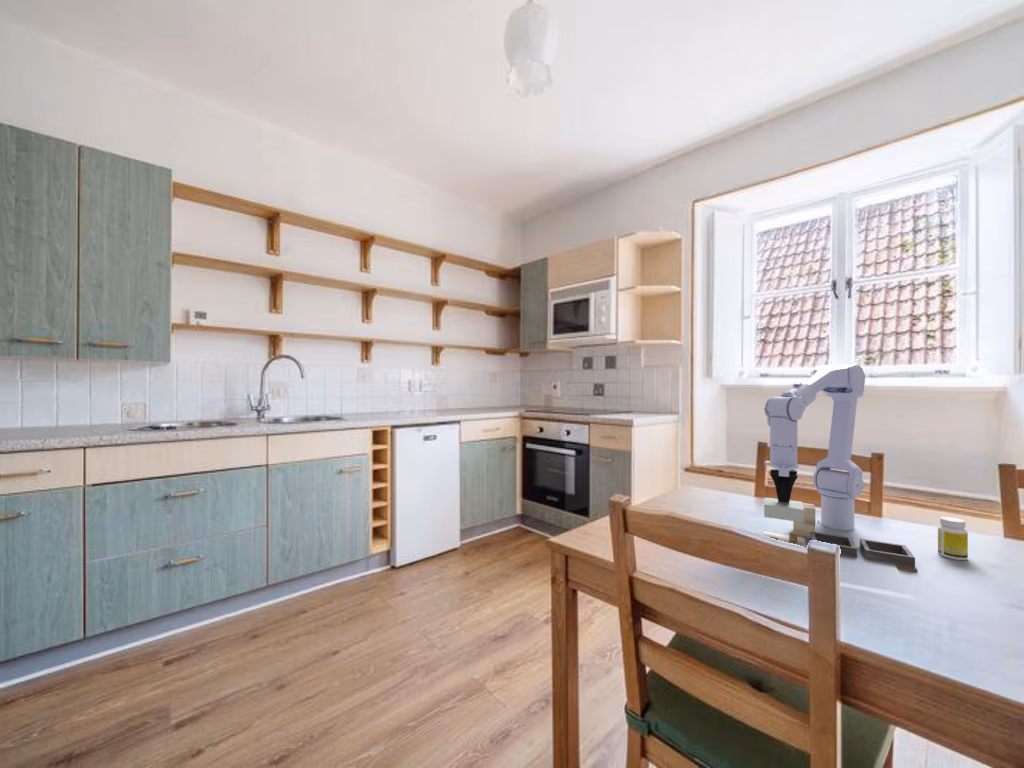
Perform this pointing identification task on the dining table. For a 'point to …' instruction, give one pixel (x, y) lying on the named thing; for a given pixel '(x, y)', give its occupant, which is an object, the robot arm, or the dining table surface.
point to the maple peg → (806, 521)
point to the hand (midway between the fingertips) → (783, 500)
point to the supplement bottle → (952, 538)
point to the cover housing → (784, 510)
